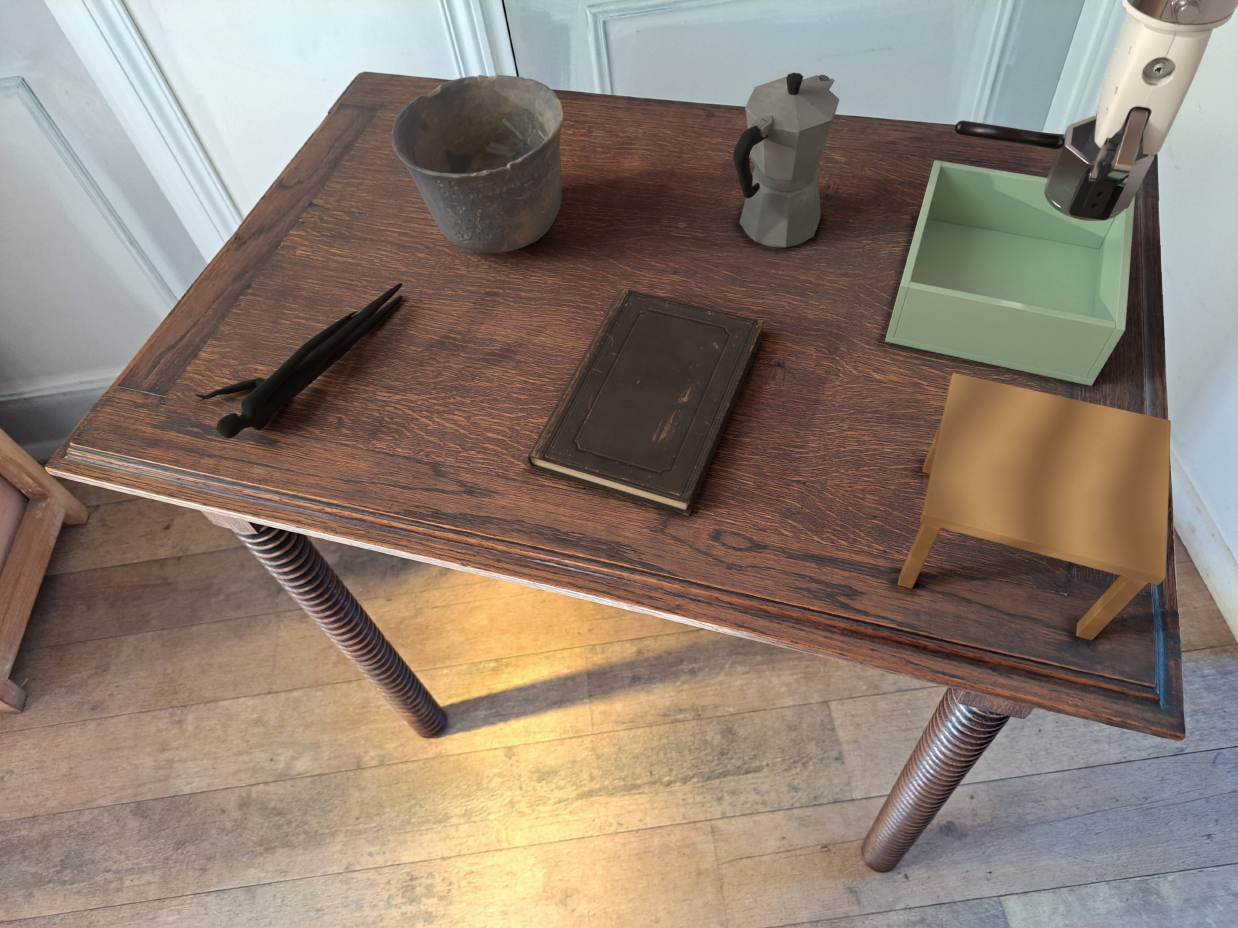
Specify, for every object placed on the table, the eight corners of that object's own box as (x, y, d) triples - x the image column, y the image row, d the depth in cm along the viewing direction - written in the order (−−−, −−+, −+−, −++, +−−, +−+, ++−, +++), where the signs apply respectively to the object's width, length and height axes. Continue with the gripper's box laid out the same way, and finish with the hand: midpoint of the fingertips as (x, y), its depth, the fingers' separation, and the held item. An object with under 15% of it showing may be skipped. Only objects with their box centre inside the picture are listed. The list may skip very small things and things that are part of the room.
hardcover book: (762, 336, 88) (764, 320, 87) (688, 516, 77) (688, 502, 75) (619, 302, 93) (618, 286, 91) (529, 467, 81) (525, 453, 79)
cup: (537, 303, 94) (513, 190, 81) (399, 269, 98) (357, 158, 86) (599, 201, 102) (586, 85, 90) (470, 175, 107) (441, 61, 95)
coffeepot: (781, 177, 103) (796, 30, 88) (847, 209, 99) (875, 60, 84) (698, 245, 97) (699, 100, 82) (764, 282, 93) (778, 137, 78)
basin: (1104, 251, 92) (1135, 191, 85) (1091, 386, 82) (1125, 329, 75) (918, 218, 97) (934, 160, 90) (884, 341, 87) (900, 285, 80)
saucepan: (1129, 178, 78) (1156, 124, 74) (1124, 227, 75) (1153, 173, 70) (948, 149, 82) (963, 96, 78) (935, 195, 79) (950, 142, 74)
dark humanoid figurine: (348, 229, 92) (155, 370, 80) (410, 275, 91) (223, 426, 79) (353, 277, 99) (175, 414, 87) (410, 320, 98) (239, 465, 86)
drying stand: (1107, 503, 75) (1171, 420, 65) (1096, 646, 67) (1166, 577, 58) (920, 457, 79) (953, 372, 69) (891, 587, 72) (923, 513, 62)
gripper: (1245, 57, 57) (1131, 260, 71) (1241, -66, 65) (1140, 137, 80) (1122, 42, 58) (1036, 243, 73) (1134, -76, 67) (1055, 125, 82)
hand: (1091, 187), depth 76 cm, fingers closed on saucepan, 7 cm apart
